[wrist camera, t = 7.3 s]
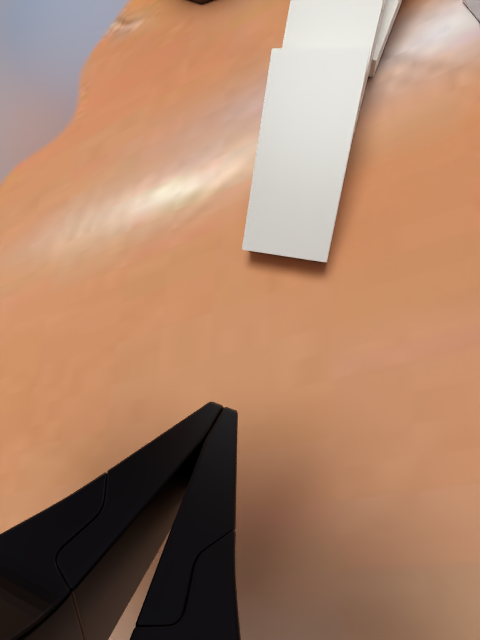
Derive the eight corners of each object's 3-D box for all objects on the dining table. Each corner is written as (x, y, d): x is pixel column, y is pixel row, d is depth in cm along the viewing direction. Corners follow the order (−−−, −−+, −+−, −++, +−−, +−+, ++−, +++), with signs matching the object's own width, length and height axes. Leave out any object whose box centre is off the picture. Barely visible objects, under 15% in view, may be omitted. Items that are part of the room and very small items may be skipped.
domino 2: (340, 184, 20) (389, -29, 17) (259, 174, 21) (295, -26, 19) (339, 191, 22) (384, 0, 19) (265, 182, 23) (298, 1, 21)
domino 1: (326, 262, 19) (370, 47, 16) (241, 249, 20) (272, 48, 18) (327, 262, 21) (366, 70, 18) (249, 250, 22) (278, 69, 20)
